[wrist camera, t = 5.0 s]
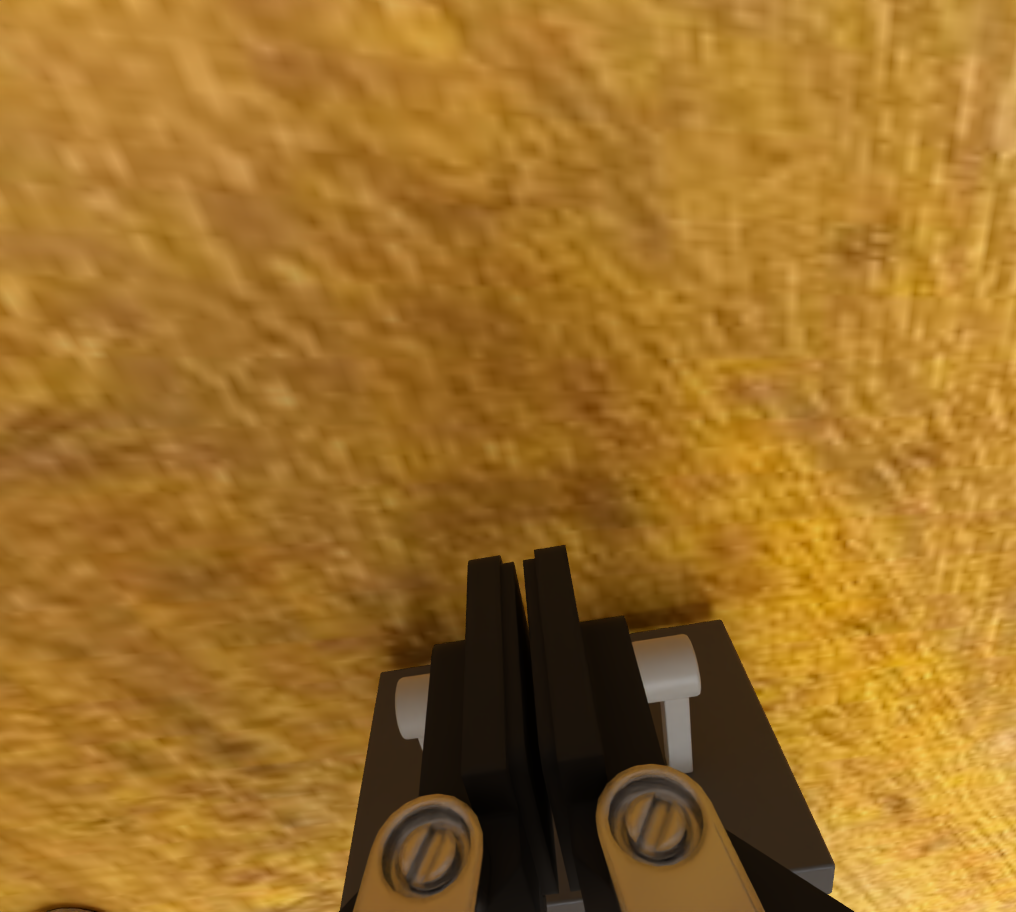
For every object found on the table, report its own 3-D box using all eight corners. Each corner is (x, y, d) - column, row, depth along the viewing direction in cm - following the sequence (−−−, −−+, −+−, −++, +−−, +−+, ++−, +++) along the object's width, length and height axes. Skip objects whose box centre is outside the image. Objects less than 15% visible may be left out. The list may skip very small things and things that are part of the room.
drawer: (342, 571, 20) (268, 823, 13) (719, 509, 19) (853, 738, 12) (462, 889, 28) (457, 1142, 21) (726, 853, 28) (806, 1101, 21)
